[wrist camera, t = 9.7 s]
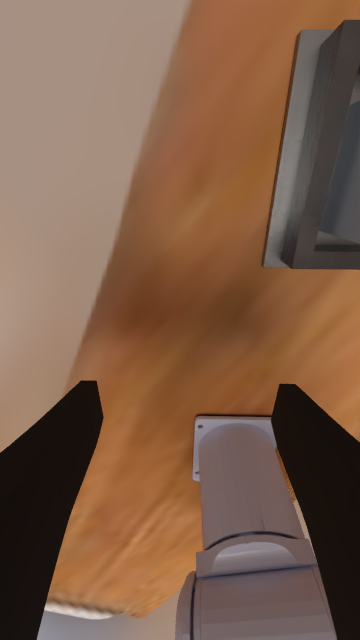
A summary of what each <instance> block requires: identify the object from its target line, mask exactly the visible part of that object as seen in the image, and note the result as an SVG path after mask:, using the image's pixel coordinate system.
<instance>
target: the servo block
mask: <svg viewBox="0 0 360 640" xmlns="http://www.w3.org/2000/svg"><path fill="white" fill-rule="evenodd" d="M319 231H322V232H325V233H328V234H331V235H334V236H337V237H340V238H343V239H346V240H350V241H353V242H356V243H359V244H360V100H359V101H357V102H355V103H353V104H351V105H350V108H349V112H348V116H347V120H346V124H345V128H344V132H343V135H342V139H341V143H340V147H339V151H338V155H337V159H336V163H335V167H334V171H333V175H332V179H331V183H330V187H329V191H328V195H327V199H326V203H325V207H324V211H323V215H322V219H321V223H320V227H319Z"/></svg>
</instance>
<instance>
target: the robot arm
mask: <svg viewBox="0 0 360 640" xmlns="http://www.w3.org/2000/svg"><path fill="white" fill-rule="evenodd" d="M102 422H103V412H102V407H101V402H100V396H99V391H98V386H97V381H82V380H81V381H80V382H79V383H78V384H77V385H76V386H75V387H74V388H73V389H72V390H71V391H69V392H68V393H67V394H66V395H65V396H64V397H63V398H62V399H61V400H60V401H59V402H58V403H57V404H56V405H55V406H54V407H53V408H52V409H51V410H49V411H48V412H47V413H46V414H45V415H44V416H43V417H42V418H41V419H40V420H38V421H37V422H36V423H35V424H34V425H33V426H32V427H31V428H29V429H28V430H27V431H26V432H25V433H24V434H22V435H21V436H20V437H19V438H18V439H17V440H15V441H14V442H13V443H12V444H11V445H10V446H8V447H7V448H6V449H4V450H3V451H2V452H1V453H0V640H37V636H38V631H39V628H40V624H41V620H42V616H43V612H44V608H45V604H46V600H47V596H48V592H49V588H50V585H51V581H52V577H53V574H54V570H55V566H56V562H57V559H58V555H59V552H60V548H61V545H62V541H63V538H64V534H65V531H66V527H67V524H68V520H69V517H70V514H71V511H72V509H73V506H74V503H75V500H76V498H77V495H78V492H79V490H80V487H81V485H82V482H83V479H84V477H85V474H86V471H87V469H88V466H89V464H90V461H91V458H92V456H93V453H94V450H95V448H96V445H97V442H98V438H99V434H100V430H101V426H102ZM276 447H277V448H278V450H279V453H280V456H281V459H282V461H283V464H284V467H285V469H286V472H287V474H288V477H289V480H290V482H291V485H292V487H293V490H294V493H295V495H296V498H297V501H298V503H299V506H300V508H301V511H302V514H303V517H304V520H305V523H306V526H307V529H308V532H309V536H310V539H311V543H312V546H313V550H314V553H315V556H314V553H313V550H312V547H311V545H310V541H309V540H308V539H305V537H304V534H303V531H302V528H301V525H300V522H299V519H298V516H297V513H296V510H295V507H294V504H293V501H292V498H291V496H290V493H289V490H288V487H287V484H286V481H285V478H284V475H283V472H282V469H281V466H280V463H279V460H278V457H277V455H276V452H275V451H276ZM192 476H193V480H195V481H200V496H201V517H202V537H203V551H202V552H197V553H196V571H192V572H190V573H189V574H188V576H187V577H186V580H185V583H184V585H183V587H182V589H181V591H180V595H179V599H178V606H177V613H176V630H175V631H176V632H175V640H360V442H359V441H357V440H356V439H355V438H354V437H353V436H352V435H350V434H349V433H348V432H347V431H346V430H345V429H344V428H342V427H341V426H340V425H339V424H338V423H337V422H336V421H335V420H333V419H332V418H331V417H330V416H329V415H328V414H327V413H326V412H325V411H324V410H323V409H322V408H320V407H319V406H318V405H317V404H316V403H315V402H314V401H313V400H312V399H311V398H310V397H309V396H308V395H307V394H306V393H305V392H303V391H302V390H301V389H300V388H299V387H298V386H297V385H296V384H279V388H278V392H277V397H276V401H275V405H274V409H273V413H272V417H229V416H198V417H196V418H195V431H194V453H193V475H192ZM315 557H316V558H315ZM316 560H317V561H316ZM317 564H318V565H317Z"/></svg>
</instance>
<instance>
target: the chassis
mask: <svg viewBox="0 0 360 640" xmlns="http://www.w3.org/2000/svg"><path fill="white" fill-rule="evenodd" d="M359 100H360V20H344V21H343V22H342V23H341V24H340V25H339V26H338V27H337V28H336V30H301V31H300V33H299V34H298V35H297V39H296V46H295V52H294V59H293V65H292V72H291V78H290V84H289V91H288V97H287V104H286V110H285V117H284V123H283V130H282V136H281V143H280V149H279V155H278V162H277V168H276V175H275V181H274V188H273V194H272V201H271V207H270V214H269V220H268V226H267V233H266V239H265V246H264V252H263V259H262V267H263V268H291V269H357V270H360V244H359V243H356V242H353V241H350V240H346V239H343V238H340V237H337V236H334V235H331V234H328V233H325V232H322V231H319V227H320V223H321V219H322V215H323V211H324V207H325V203H326V199H327V195H328V191H329V187H330V183H331V179H332V175H333V171H334V167H335V163H336V159H337V155H338V151H339V147H340V143H341V139H342V135H343V132H344V128H345V124H346V120H347V116H348V112H349V108H350V105H351V104H353V103H355V102H357V101H359Z"/></svg>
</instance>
